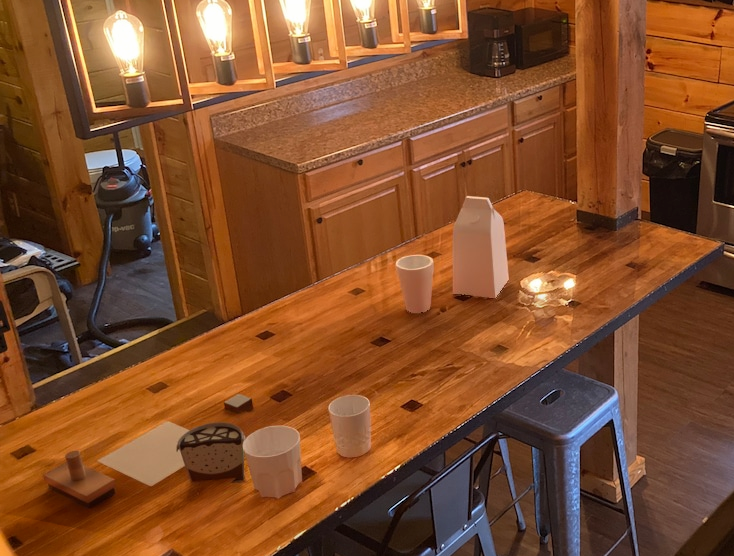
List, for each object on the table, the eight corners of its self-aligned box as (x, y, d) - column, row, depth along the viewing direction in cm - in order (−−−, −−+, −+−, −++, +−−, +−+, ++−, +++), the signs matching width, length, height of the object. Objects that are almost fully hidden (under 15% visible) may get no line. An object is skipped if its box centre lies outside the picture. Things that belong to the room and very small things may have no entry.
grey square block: (225, 412, 201) (223, 402, 200) (240, 403, 204) (238, 393, 203) (238, 417, 199) (236, 407, 198) (253, 408, 202) (251, 398, 201)
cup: (264, 467, 183) (257, 424, 179) (314, 470, 182) (308, 427, 178) (241, 500, 174) (232, 455, 170) (293, 503, 173) (286, 458, 169)
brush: (47, 492, 176) (36, 452, 172) (75, 476, 180) (65, 436, 177) (91, 514, 170) (80, 473, 167) (118, 497, 175) (108, 456, 171)
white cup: (332, 440, 192) (327, 398, 188) (372, 434, 194) (367, 391, 190) (335, 463, 185) (329, 419, 181) (376, 455, 187) (371, 412, 183)
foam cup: (393, 307, 247) (388, 261, 241) (423, 296, 252) (420, 251, 247) (412, 319, 240) (408, 273, 235) (443, 308, 246) (440, 262, 241)
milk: (509, 281, 261) (505, 192, 251) (495, 299, 251) (491, 207, 241) (467, 276, 264) (463, 188, 253) (452, 294, 254) (447, 203, 243)
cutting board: (97, 465, 184) (96, 460, 183) (168, 424, 196) (167, 420, 196) (151, 491, 177) (150, 486, 176) (221, 447, 189) (220, 443, 189)
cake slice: (257, 461, 185) (250, 417, 181) (252, 480, 180) (244, 436, 176) (191, 467, 183) (182, 423, 179) (183, 487, 178) (174, 442, 174)
